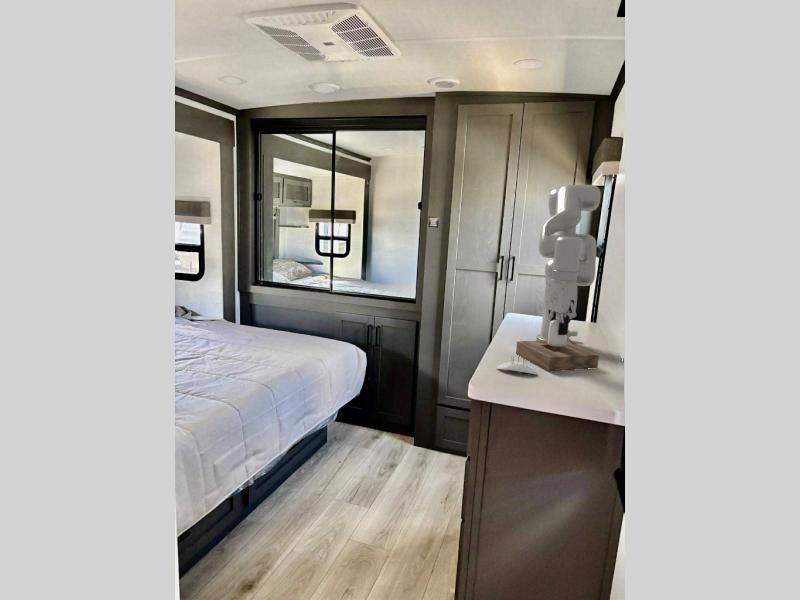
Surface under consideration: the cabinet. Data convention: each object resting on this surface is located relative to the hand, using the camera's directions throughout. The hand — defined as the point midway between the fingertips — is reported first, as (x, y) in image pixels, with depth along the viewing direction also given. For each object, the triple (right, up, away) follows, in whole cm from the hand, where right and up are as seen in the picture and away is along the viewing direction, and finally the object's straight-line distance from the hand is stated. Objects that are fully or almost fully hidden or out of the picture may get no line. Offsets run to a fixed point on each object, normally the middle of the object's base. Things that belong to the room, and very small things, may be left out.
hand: (558, 332), depth 144 cm
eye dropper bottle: (0, -4, +1) cm, 4 cm away
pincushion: (-16, -11, -11) cm, 23 cm away
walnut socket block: (0, -10, +2) cm, 10 cm away
